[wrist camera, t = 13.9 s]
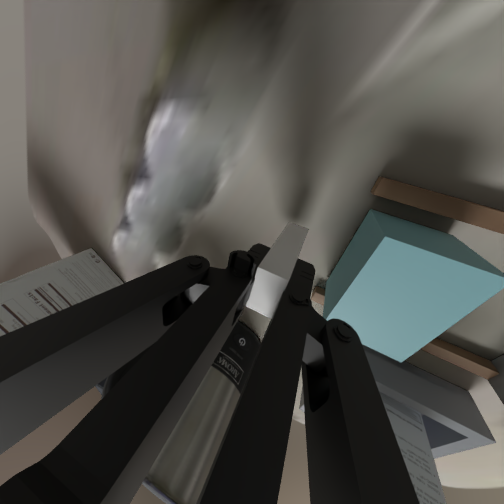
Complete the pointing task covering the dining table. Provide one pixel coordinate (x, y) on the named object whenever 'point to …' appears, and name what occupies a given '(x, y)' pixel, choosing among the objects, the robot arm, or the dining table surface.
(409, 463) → the supplement box
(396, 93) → the dining table surface
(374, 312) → the block
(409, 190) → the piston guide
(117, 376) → the milk frother
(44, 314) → the supplement box
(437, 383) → the tray
